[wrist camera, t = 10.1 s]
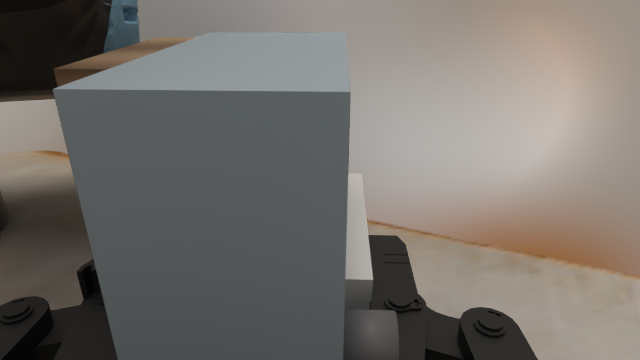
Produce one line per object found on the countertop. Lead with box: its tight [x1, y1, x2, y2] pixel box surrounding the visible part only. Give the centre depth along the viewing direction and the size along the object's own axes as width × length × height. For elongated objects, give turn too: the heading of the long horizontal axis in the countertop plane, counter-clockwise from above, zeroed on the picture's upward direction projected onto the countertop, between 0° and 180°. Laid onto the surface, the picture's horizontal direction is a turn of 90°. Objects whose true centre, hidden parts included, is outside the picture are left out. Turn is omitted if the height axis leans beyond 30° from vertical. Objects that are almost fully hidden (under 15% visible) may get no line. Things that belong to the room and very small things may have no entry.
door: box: [53, 32, 399, 360], centre depth 12 cm, size 8×5×14 cm, turn 178°
